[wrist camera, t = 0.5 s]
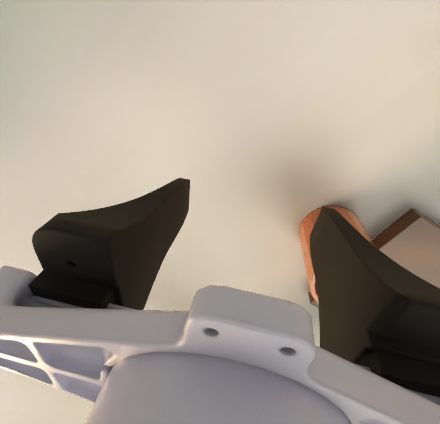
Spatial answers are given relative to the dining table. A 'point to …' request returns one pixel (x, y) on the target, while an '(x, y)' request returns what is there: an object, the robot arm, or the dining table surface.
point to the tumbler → (305, 240)
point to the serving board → (411, 247)
